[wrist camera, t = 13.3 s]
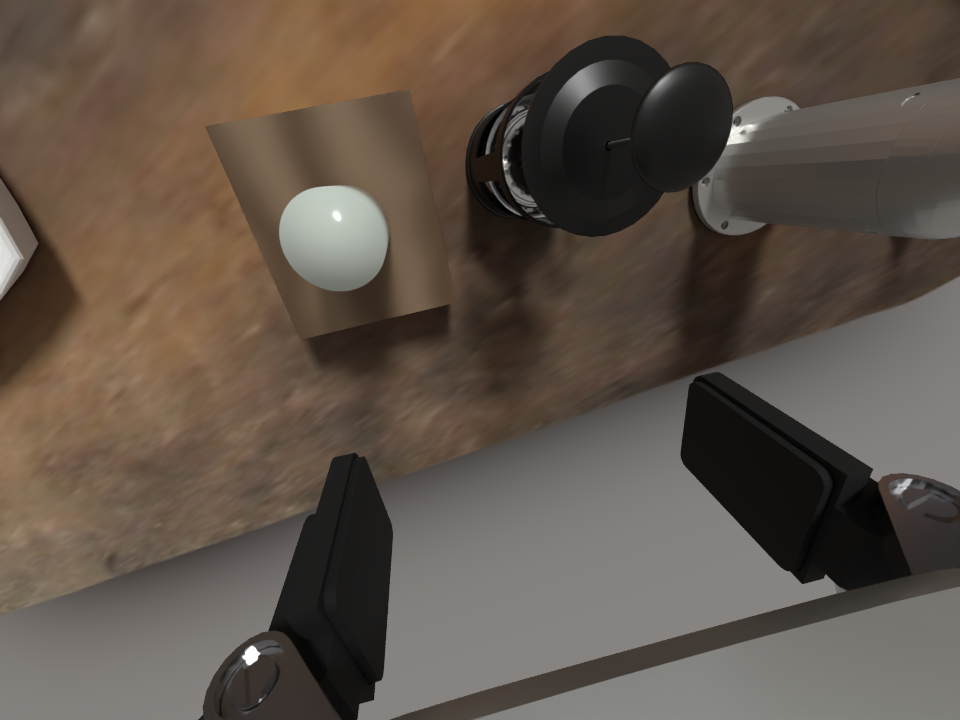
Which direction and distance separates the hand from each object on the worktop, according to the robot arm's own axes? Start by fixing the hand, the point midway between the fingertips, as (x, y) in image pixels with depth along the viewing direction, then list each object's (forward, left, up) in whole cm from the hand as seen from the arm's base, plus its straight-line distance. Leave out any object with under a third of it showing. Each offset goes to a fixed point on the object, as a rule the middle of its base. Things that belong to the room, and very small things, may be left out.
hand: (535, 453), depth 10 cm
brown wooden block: (+7, -5, -29) cm, 30 cm away
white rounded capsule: (+6, -5, -24) cm, 26 cm away
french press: (-9, -7, -29) cm, 32 cm away
